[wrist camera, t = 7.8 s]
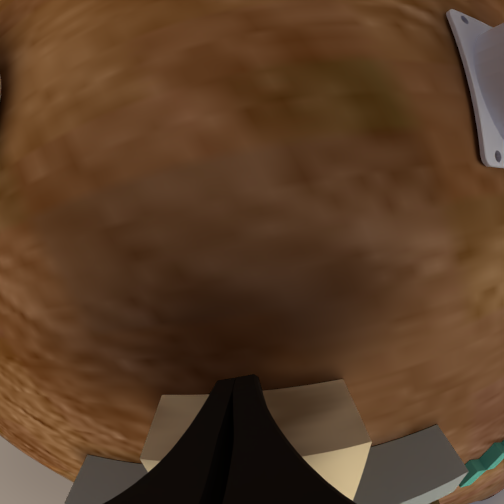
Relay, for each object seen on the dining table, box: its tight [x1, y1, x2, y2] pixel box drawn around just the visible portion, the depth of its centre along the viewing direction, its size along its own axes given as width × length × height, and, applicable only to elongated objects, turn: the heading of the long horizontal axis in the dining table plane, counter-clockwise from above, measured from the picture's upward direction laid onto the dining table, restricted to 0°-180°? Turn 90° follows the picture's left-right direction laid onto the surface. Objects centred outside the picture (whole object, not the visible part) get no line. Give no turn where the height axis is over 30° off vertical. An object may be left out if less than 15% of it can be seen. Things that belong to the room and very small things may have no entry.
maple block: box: [140, 379, 372, 501], centre depth 10 cm, size 8×6×4 cm
